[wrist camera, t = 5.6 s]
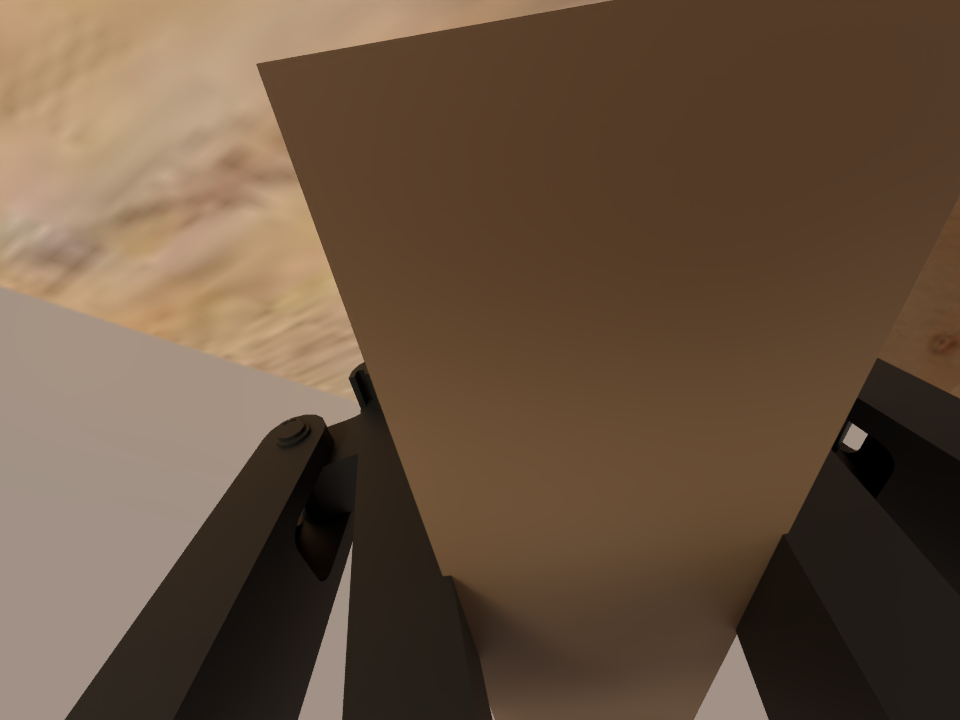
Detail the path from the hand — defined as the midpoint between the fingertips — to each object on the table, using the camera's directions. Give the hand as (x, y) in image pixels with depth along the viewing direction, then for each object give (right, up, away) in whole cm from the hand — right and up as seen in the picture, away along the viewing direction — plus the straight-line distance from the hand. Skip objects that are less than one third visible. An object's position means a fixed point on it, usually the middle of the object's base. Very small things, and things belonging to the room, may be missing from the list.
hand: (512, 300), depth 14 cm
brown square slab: (0, +1, +1) cm, 1 cm away
